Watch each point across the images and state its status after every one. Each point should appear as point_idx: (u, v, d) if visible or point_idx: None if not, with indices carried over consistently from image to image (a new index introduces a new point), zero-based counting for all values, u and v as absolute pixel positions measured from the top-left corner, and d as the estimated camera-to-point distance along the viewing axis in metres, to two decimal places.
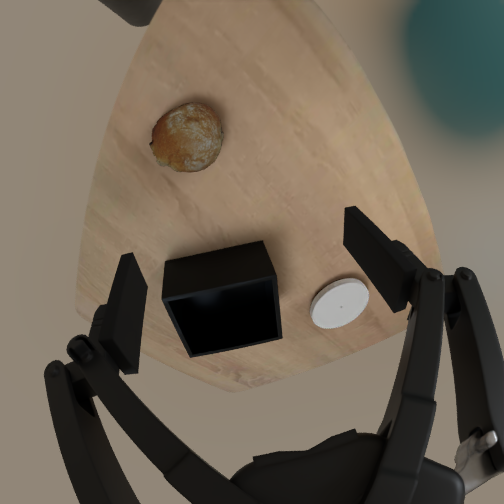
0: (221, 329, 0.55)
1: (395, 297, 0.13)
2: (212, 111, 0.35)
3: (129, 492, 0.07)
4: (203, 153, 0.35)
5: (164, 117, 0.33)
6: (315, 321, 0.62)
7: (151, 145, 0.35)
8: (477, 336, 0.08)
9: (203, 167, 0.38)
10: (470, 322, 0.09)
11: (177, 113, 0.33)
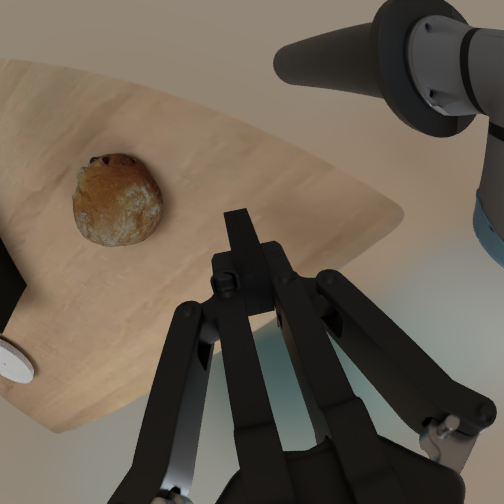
0: None
1: (257, 297, 0.14)
2: (152, 232, 0.29)
3: (192, 455, 0.08)
4: (97, 238, 0.26)
5: (140, 177, 0.25)
6: None
7: (101, 161, 0.24)
8: (376, 338, 0.09)
9: None
10: (361, 328, 0.10)
11: (145, 196, 0.26)
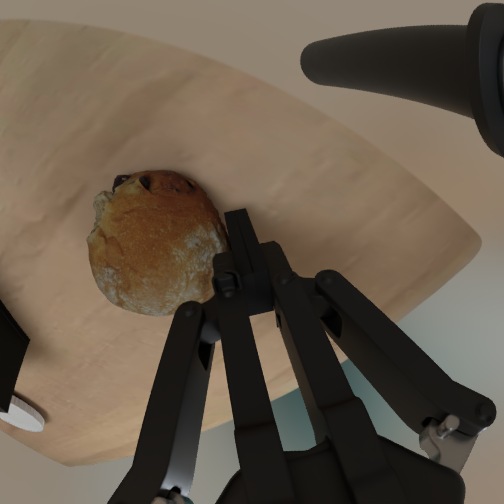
0: None
1: (256, 298, 0.14)
2: None
3: (192, 455, 0.08)
4: (135, 309, 0.17)
5: (207, 215, 0.17)
6: None
7: (139, 184, 0.15)
8: (376, 338, 0.09)
9: None
10: (360, 328, 0.10)
11: (216, 246, 0.17)
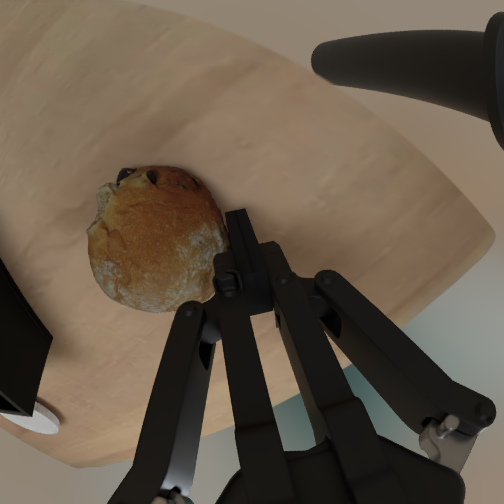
0: None
1: (255, 298, 0.14)
2: None
3: (193, 455, 0.08)
4: (133, 304, 0.16)
5: (212, 213, 0.17)
6: None
7: (146, 178, 0.15)
8: (375, 338, 0.09)
9: (102, 289, 0.17)
10: (360, 328, 0.10)
11: (218, 245, 0.17)
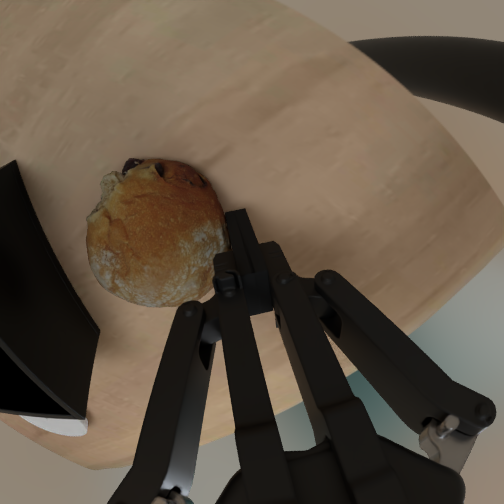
0: None
1: (255, 298, 0.14)
2: None
3: (193, 455, 0.08)
4: (128, 296, 0.16)
5: (216, 212, 0.17)
6: None
7: (154, 170, 0.15)
8: (375, 338, 0.09)
9: (97, 279, 0.17)
10: (360, 328, 0.10)
11: (220, 244, 0.17)
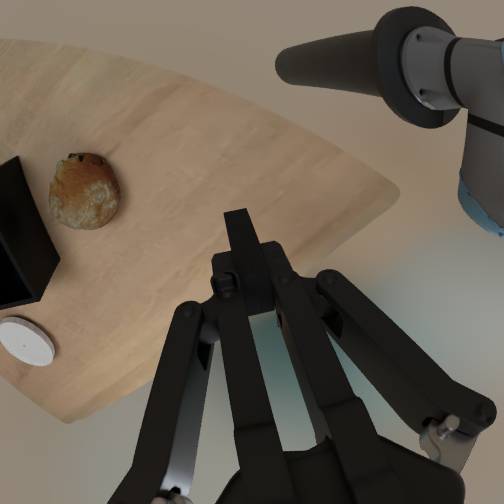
0: None
1: (257, 297, 0.14)
2: (108, 222, 0.34)
3: (192, 455, 0.08)
4: (64, 220, 0.29)
5: (104, 176, 0.30)
6: (1, 326, 0.39)
7: (77, 158, 0.28)
8: (377, 338, 0.09)
9: None
10: (361, 328, 0.10)
11: (106, 192, 0.30)
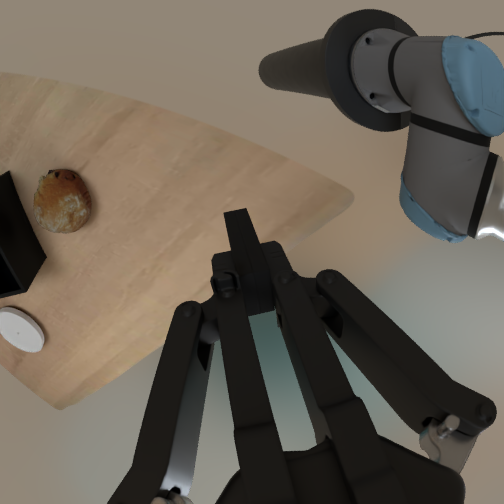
0: None
1: (257, 297, 0.14)
2: (81, 226, 0.38)
3: (192, 455, 0.08)
4: (45, 225, 0.34)
5: (75, 189, 0.35)
6: None
7: (54, 174, 0.33)
8: (376, 338, 0.09)
9: None
10: (361, 328, 0.10)
11: (77, 202, 0.35)
